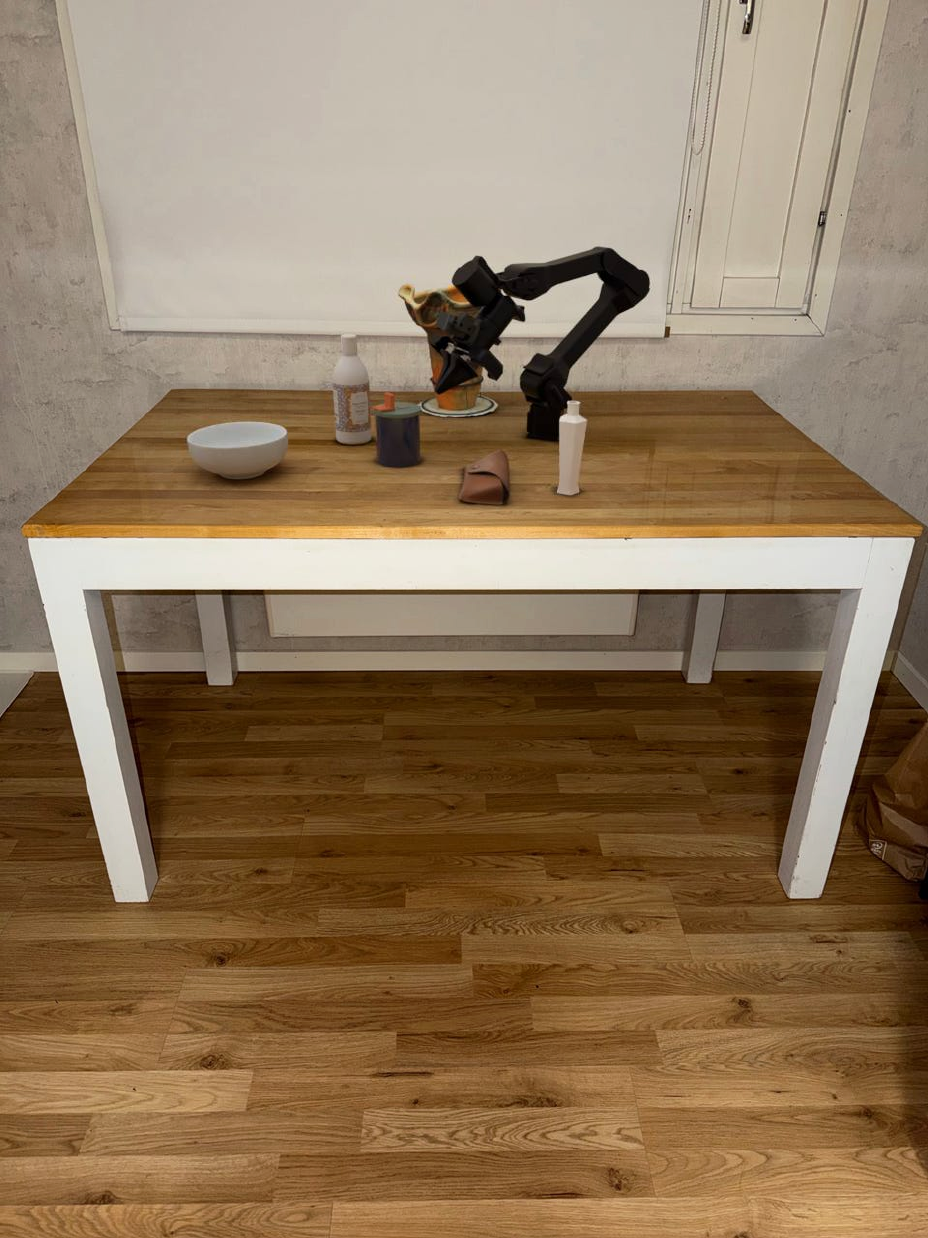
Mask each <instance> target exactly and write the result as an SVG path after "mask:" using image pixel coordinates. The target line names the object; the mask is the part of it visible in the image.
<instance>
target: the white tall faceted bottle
mask: <svg viewBox="0 0 928 1238" xmlns="http://www.w3.org/2000/svg"><path fill="white" fill-rule="evenodd" d="M567 404H568V409H566V410H567V411H566V413H564V415H563V416H561V417H560V420H559V439H558V440H559V441H558V443H559V445H558V447H559V449H558V450H559V453H558V455H559V456H558V457H559V460H558V462H559V466H558V469H559V470H558V471H559V472H558V473H559V479H558V480H559V481H558V482H559V483H558V486H557V490H556V493H557V494H559V495H566V496H573V495H576V494H578V493H580V488H579V487H580V486H579V477H580V470H581V464H582V458H583V451H584V444H585V437H586V431H587V424H588V419H586V418H585V417H584V416H582V415H580V405H581V401H577V400H572V401H568V402H567Z"/></svg>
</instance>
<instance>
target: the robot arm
mask: <svg viewBox="0 0 928 1238" xmlns="http://www.w3.org/2000/svg"><path fill="white" fill-rule="evenodd" d="M594 274H596V275H597V277H598V279H599V280H600V281H601V282H602V285H601V287H600V292H599V296H598V299H597V300H596V301H595V302H594V303H593V305H592V306H590V308H589V309H588V310H587V312H585V314H584V315H583V316H582V317H581V318H580V319H579V320H578V322H577V323H575V325H574V326H573V327H572V329H570V330H569V332H568V333H567V334H566V335H565V336H564V337H563V339H562V340H561V341H560V342H559V343H558V344H557V345H556V347H555V348H554V349H553V350H552V351H551V352H549V353H548V354H544V353H541V352H536V353H535V354H534V355H533V356H532V358H531V359H530V361H529V362H528V363H526V364H525V365H523V366H522V369H524V370H522V372H521V373H520V375H519V389H520V390H521V392H522V394H523V395H524V398H525V402H527V403H530V405H529V410H528V411H527V413H526V433H527V434H526V435H525V438H528V439H536V440H545V441H553V442H556V441H558V440H559V420H560V417H561V416H563V415H565V410H568V404H567V402H568V401H573V397H572V396H571V394H569V392H568V391H567V390H566V389H565V387H566V385H567V383H568V380H569V376H570V371H571V369H572V368H573V366H574V365H575V364H576V363H577V362H579V360H580V359H581V357H582V356H583V355H584V354H585V353H586V352H587V351H588V350H589V349H590V347H591V346H592V345H593V344H594V343H595V341H596V340H598V338H599V337H600V336H601V335H602V334H603V332H604V331H605V330H606V329H607V328H608V327H609V326H610V325H611V324H612V322H613V321H614V320H615V319H616V318H617V317H618V316H619V315H621V314H623V313H624V312H627V311H629V310H631V309H633V308H635V307H636V306H637V305H638V304H640V303H641V302H642V301H643V300H645V298H646V297H647V296H648V295H649V293H650V291H651V287H650V285H651V281H650V280H651V279H650V276H649V273H648V272H647V271H645V270H644V269H639V268H638V267H637V266H636V265H635V264H633V263H631V262H630V261H628V260H627V259H626V258H624V257H623V256H621V255H620V254H619V253H618V252H617V251H616V250H614V248H613V247H606V246H600V245H599V246H594V247H593V248H591V249H587V250H584V251H581V252H577V253H574V254H569V255H566V256H563V257H560V258H557V259H552V260H549V261H546V262H521V263H511V264H509V265H507V266H505V267H504V268H503V270H502V271H499V272H496V273H495V272H494V271H493V269H492V268H491V267H490V266H489V264H488V262H487V261H486V259H485V258H484V257H483V255H474V257H473V258H472V259H471V260H468V261H467V262H465V263H464V264H462V266H460V267H458V268H457V269H456V270H455V271H454V273H453V275H452V278H451V285H454V286H455V287H456V288H457V290H458V291H459V292H460V293H461V294H462V295H463V296H464V298H465V299H466V300H467V301H468V302H469V303H470V304H471V306H473V307H478V306H480V307H482V308H481V309H480V311H479V312H478V313H477V314H476V316H475V317H474V318H473V317H472V316H470V315H468V314H466V313H460V314H459V315H458V316H456V315H453V314H450V313H447V312H443V311H440V313H439V316H438V318H437V321H436V324H435V326H434V328H435V329H437V330H442V331H445V332H447V333H449V334H451V336H450V337H449V336H447V335H444V334H441V333H436V334H433V335H432V336H431V338H430V339H429V340H427V344H428V343H429V344H430V345H431V346H432V348H433V349H434V350H435V351H436V352H437V353H438V354H439V355H440V356H441V357H442V358H443V366H442V369H441V372H440V375H439V378H438V381H437V383H436V386H435V389H434V388H433V391H434V393H435V392H436V393H437V394H439V395H440V394H442V393H444V392H446V391H448V390H450V389H452V388H454V387H456V386H458V385H460V384H462V383H464V382H466V381H468V380H471V379H473V378H477V377H478V376H479V375H478V374H477V372H478V370H479V369H480V368H481V367H482V368H483V369H484V370H485V371H486V372H487V375H486V377H487V378H488V379H490V380H493V381H496V382H498V380H500V377H502V375H503V373H504V364H502V362H501V361H500V360H499V359H498V358H497V356H495V355H494V353H493V352H492V351H491V349H492V347H493V346H497V347H499V346H500V344H501V343H502V340H501V339H500V337H501V335H503V333H504V332H505V330H506V329H507V328H508V327H509V326H510V324H511V322H512V321H517V322H521V323H525V322H526V313H525V308H526V307H525V305H520V304H517V303H516V302H515V300H514V299H518V300H522V301H526V302H530V301H534V300H536V299H538V298H539V297H541V296H544V295H545V294H547V293H548V292H549V291H550V290H551V289H552V288H553V287H555V286H557V285H560V284H563V283H564V284H565V283H568V282H570V281H573V280H574V281H575V280H577V279H580V278H584V277H588V276H591V275H594ZM499 289H501V291H500V290H499ZM504 294H505V295H504ZM513 298H514V299H513ZM451 339H452V340H453V341H454V342H456V343H457V344H455V343H454V342H453V341H452V340H451ZM429 344H428V345H429Z"/></svg>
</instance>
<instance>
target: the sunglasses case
mask: <svg viewBox="0 0 928 1238" xmlns="http://www.w3.org/2000/svg"><path fill="white" fill-rule="evenodd" d="M509 463H510V462H509V458H508V455H507V453H506V452H505V451H504V450H503V449H501V448H500V449H497V450H495V451H492V452H490V453H489V454H487V455H486V456H484V457H482V458H481V459H479V460H476V461H473V462H471V463H467V464H466V465H464V466H463V468H462V470H463V479H462V487H461V489H460V492H459V496H458V500H459V501H462V502H465V503H470V504H476V505H477V504H478V505H491V506H493V505H494V506H502V505H504V504H506V503H507V502H508V500H510V496H511V495H510V493H511V483H510V464H509Z"/></svg>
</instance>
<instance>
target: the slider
mask: <svg viewBox="0 0 928 1238" xmlns="http://www.w3.org/2000/svg"><path fill="white" fill-rule="evenodd" d="M383 394H384V403H385V405H380V406H376V405H374V406H373V407H372V410H373V409H375V410H377V411H379V412H384V411H391V410H395V408H394V407H395V403H394V402H395V395H394V394H393V393H390V392H389V391H388V392H384V393H383Z"/></svg>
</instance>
